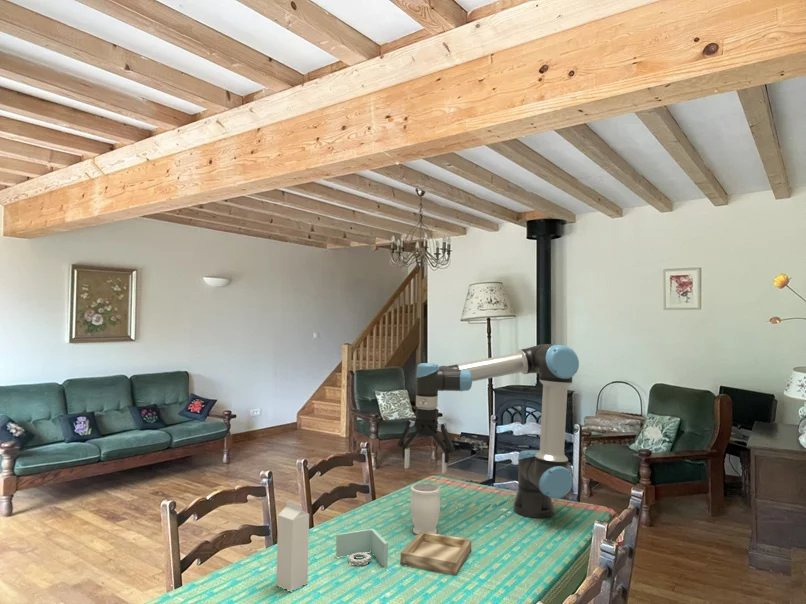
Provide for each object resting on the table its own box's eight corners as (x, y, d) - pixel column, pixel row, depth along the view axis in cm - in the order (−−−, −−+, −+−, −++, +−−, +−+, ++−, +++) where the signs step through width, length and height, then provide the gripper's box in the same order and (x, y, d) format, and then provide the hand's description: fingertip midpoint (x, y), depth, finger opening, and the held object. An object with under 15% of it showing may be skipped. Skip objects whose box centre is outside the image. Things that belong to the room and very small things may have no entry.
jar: (437, 539, 175) (438, 493, 176) (407, 536, 177) (408, 490, 178) (441, 527, 186) (442, 484, 186) (413, 524, 188) (413, 481, 189)
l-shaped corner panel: (336, 559, 160) (336, 533, 161) (373, 552, 165) (373, 528, 166) (348, 576, 149) (348, 549, 150) (387, 569, 154) (387, 543, 155)
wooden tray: (471, 550, 166) (471, 539, 167) (456, 575, 150) (456, 562, 150) (420, 542, 173) (420, 531, 173) (400, 564, 156) (400, 552, 156)
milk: (292, 578, 147) (295, 497, 148) (307, 584, 143) (310, 501, 144) (275, 586, 142) (278, 502, 143) (290, 593, 138) (293, 507, 139)
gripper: (389, 406, 185) (387, 468, 184) (458, 412, 176) (457, 477, 175) (397, 403, 192) (395, 463, 191) (464, 409, 183) (463, 471, 182)
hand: (425, 469), depth 183 cm, fingers open, 13 cm apart
